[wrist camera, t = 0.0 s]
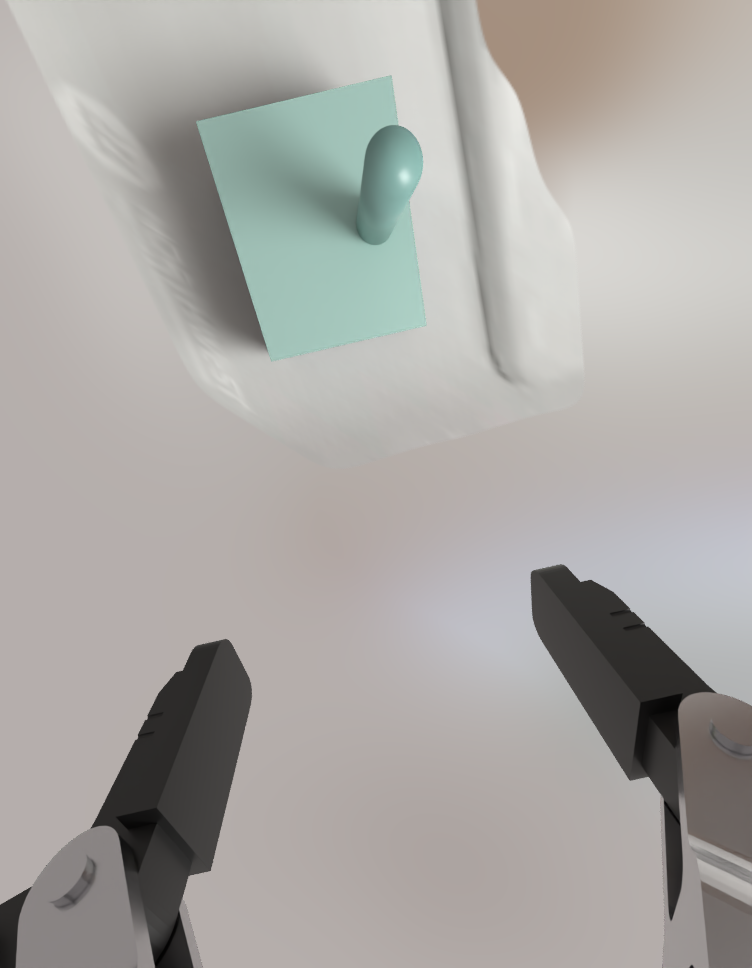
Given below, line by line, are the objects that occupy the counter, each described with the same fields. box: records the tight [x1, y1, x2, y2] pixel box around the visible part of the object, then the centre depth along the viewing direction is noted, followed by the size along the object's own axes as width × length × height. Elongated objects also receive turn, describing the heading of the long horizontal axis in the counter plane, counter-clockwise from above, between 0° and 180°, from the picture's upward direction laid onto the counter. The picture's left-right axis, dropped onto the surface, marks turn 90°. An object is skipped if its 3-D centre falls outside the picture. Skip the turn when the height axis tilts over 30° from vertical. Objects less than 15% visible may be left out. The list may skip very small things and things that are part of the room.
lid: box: [196, 75, 427, 362], centre depth 21 cm, size 14×12×12 cm
